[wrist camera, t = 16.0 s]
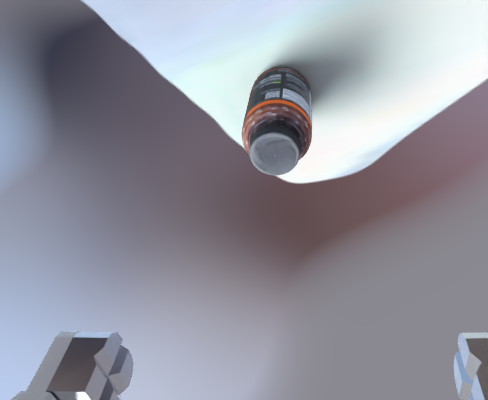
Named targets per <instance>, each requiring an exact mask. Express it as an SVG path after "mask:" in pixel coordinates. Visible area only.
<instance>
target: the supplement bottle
mask: <svg viewBox="0 0 488 400" xmlns="http://www.w3.org/2000/svg"><path fill="white" fill-rule="evenodd" d="M311 109H312V108H311V91H310V87H309V84H308V82H307V81H306V79H305V78H304V77H303V76H302V75H301V74H300V73H298V72H297V71H295V70H293V69H290V68H283V67H277V68H273V69H270V70H267V71H266V72H264V73H262V74H261V75H260V76H259V77H258V78H257V80H256V81H255V83H254V85H253V87H252V90H251V93H250V98H249V102H248V106H247V110H246V114H245V118H244V123H243V128H242V140H243V144H244V147H245V149H246V151H247V152H248V153H249V155H250V159H251V161H252V163H253V165H254V166H255V167H256V168H257V169H258V170H260V171H261V172H263V173H266V174H269V175H281V174H285V173H287V172H289V171H291V170H292V169H293V168H294V167H295V166H296V165H297V163H298V160H300V159H301V158H302V157H303V156H304V155H305V154H306V152H307V150H308V149H309V146H310V143H311V137H312V110H311Z"/></svg>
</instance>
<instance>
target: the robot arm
mask: <svg viewBox="0 0 488 400" xmlns="http://www.w3.org/2000/svg"><path fill="white" fill-rule="evenodd" d="M121 342H122V338H121V337H120V335H119V334H118V332H80V331H77V332H61V333H59V334H58V335H57V336H56V337H55V339H54V341H53V343H52V344H51V346H50V348H49V350H48V352H47V354H46V356H45V357H44V359H43V361H42V363H41V365H40V367H39V368H38V370H37V372H36V374H35V376H34V378H33V380H32V381H31V383H30V385H29V387H28V389H27V391H21V392H20V393H19V394H17V395H16V396H15V397H14V398H12V399H11V400H121V397H120V394H121V393H122V392H123V391H124V390H125V389H126V388H127V387H128V386H129V383H130V380H131V377H132V371H133V361H132V356H131V354H130V352H129V350H128V349H126V348H125V347H123V346H121ZM457 343H458V346H459V350H460V351H459V352H457V353H456V354H455V357H454V377H455V383H456V387H457V391H458V395H459V397H460V398H461V399H462V400H488V333H461V334H460V335H459V337H458V342H457Z"/></svg>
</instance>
